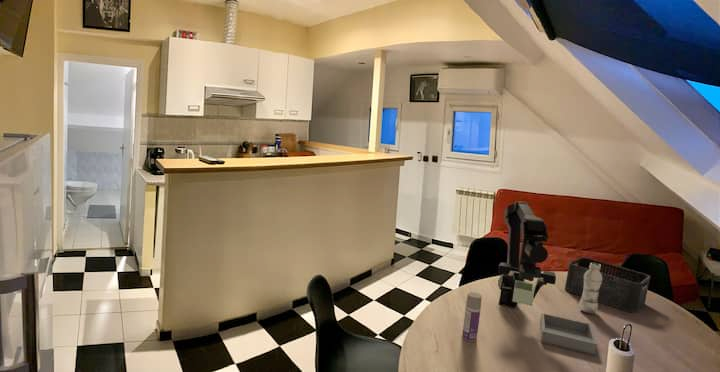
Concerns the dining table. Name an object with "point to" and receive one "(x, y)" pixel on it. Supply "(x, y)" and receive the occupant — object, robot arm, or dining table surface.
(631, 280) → the storage bin
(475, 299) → the container
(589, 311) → the plastic bottle
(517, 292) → the small crate
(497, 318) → the dining table surface
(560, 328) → the large crate
